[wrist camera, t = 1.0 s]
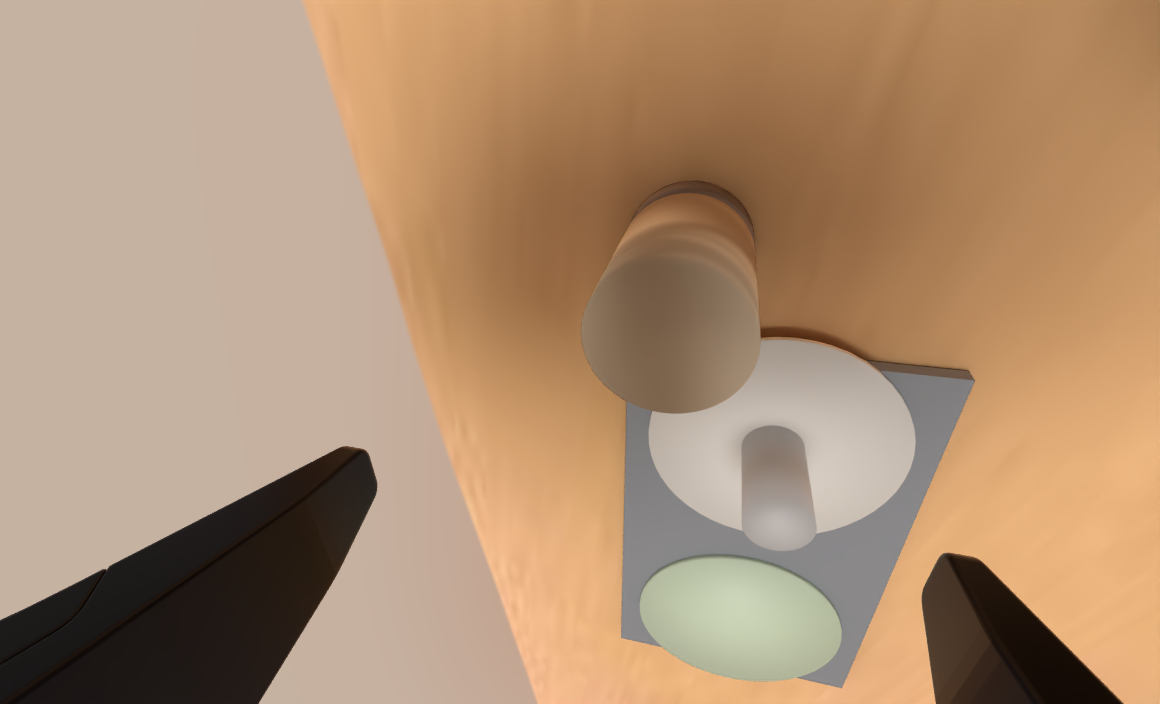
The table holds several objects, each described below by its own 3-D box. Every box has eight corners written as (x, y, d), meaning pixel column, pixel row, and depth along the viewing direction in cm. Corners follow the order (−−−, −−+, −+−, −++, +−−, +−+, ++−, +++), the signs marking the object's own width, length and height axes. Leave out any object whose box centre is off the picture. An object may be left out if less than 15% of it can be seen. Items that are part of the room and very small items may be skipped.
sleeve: (763, 183, 17) (774, 265, 12) (745, 305, 20) (747, 423, 14) (629, 178, 18) (578, 252, 13) (626, 295, 21) (582, 402, 15)
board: (979, 346, 18) (1045, 439, 14) (836, 686, 30) (850, 791, 26) (631, 314, 21) (605, 385, 17) (622, 638, 33) (606, 725, 29)
